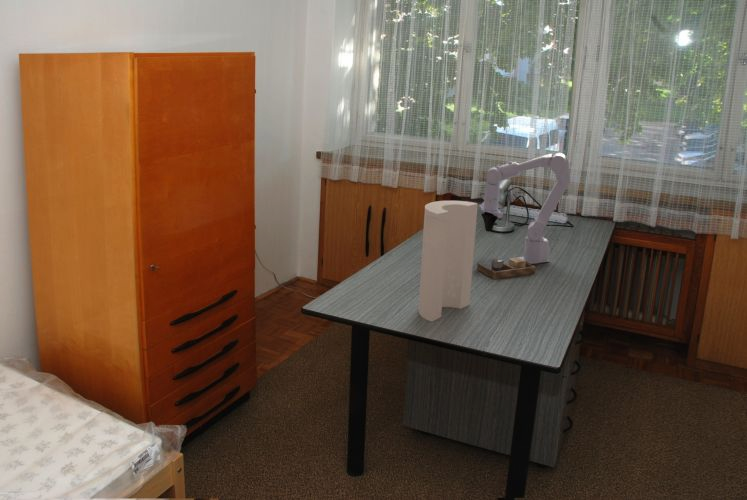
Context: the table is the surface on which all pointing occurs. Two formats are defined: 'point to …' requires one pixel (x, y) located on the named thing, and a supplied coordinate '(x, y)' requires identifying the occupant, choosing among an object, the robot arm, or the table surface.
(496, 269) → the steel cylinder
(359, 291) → the table surface
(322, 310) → the table surface
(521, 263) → the maple block
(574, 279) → the table surface
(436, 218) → the white curved column
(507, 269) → the rack
